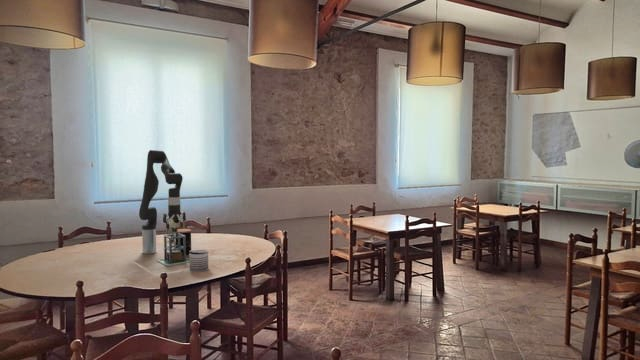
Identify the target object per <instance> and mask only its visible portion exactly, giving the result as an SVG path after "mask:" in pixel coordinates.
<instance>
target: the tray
mask: <svg viewBox="0 0 640 360" xmlns="http://www.w3.org/2000/svg"><path fill="white" fill-rule="evenodd" d="M186 260H187V261H185V262H179V263H173V264H168V263H166V262H165V261H164V258H161V259H156V261H157V262H158V263H159V264H161V265H163V266H165V267H169V266H176V265H182V264H188V263H189V264H190V257H187V256H186Z"/></svg>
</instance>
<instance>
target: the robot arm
mask: <svg viewBox="0 0 640 360" xmlns="http://www.w3.org/2000/svg"><path fill="white" fill-rule="evenodd" d="M154 164H161V165H160V171H161V172H162V174H163V176H164V179H165V183H166V184H168V185H174V186H173V187H170V188H169V189H168V193H167V194H168V200H167V203H168V205H167V206H168V207H167V208H168V211H167V213H163V214H162V215H163V216H162V222H163V223H164V224H165V228H166V229H167V230H168V229H169V223H170V221H171V220H174V219H179V221H180V228H182V227H183V222H186V221H187V218H186V212H185V211H181V193H180V192H181V188H182V184H183V178H184V177H183V175H182V174H181V173H179V172H178V173H176V171H175V169H174V167H173V166H172V165H171V164H170V162H169V159H168V157H167V154H166V153H165V151H164V150H160V149H149V151H148V152H147V157H146V172H145V178H144V184H143V193H142V197H141V198H142V199H141V203H140V207H139V211H138V214H139V215H138V216H139V218H140V220H142V221H146V222H145V223H143V225H141V234H142V237H141V238H142V240H141V241H142V244H141V245H142V254H145V255H147V254H148V255H150V254H155V253H157V224H158V211H157V210H158V209H156V206H153V205H151V206H150V203H151V201H152V199H153V198H154V197H155V196H156V194H157V193H158V190H159V185H160V184H159V183H160V181H159V178H158V176H157V174H156V173H155V170H154ZM181 216H182V217H181ZM181 218H182V219H181Z"/></svg>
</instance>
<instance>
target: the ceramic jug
mask: <svg viewBox="0 0 640 360" xmlns="http://www.w3.org/2000/svg"><path fill="white" fill-rule="evenodd" d="M181 219H183V217H181ZM172 227H178V229H188V227H187V224H186V221H184V222H183V227H182V228H180V221H179V219H174V220H171V221H170V222H169V229H167V235H170V234H174V232H172ZM169 237H174V236H169ZM172 241H173V242H174V239H172Z"/></svg>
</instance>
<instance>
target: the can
mask: <svg viewBox="0 0 640 360" xmlns="http://www.w3.org/2000/svg"><path fill="white" fill-rule="evenodd" d="M189 252H190V253H189V255H188V256H189V259H190V262H189V271H190V272H193V273H194V272H195V273H199V272H205V271H208V270H209V250H206V249H193V250H192V249H191V251H189Z"/></svg>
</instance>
